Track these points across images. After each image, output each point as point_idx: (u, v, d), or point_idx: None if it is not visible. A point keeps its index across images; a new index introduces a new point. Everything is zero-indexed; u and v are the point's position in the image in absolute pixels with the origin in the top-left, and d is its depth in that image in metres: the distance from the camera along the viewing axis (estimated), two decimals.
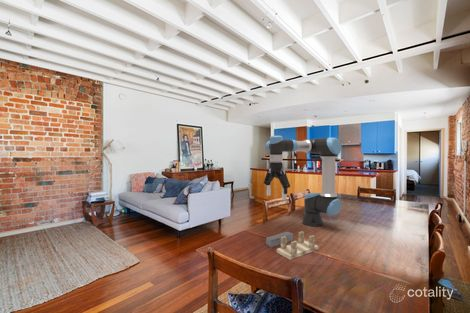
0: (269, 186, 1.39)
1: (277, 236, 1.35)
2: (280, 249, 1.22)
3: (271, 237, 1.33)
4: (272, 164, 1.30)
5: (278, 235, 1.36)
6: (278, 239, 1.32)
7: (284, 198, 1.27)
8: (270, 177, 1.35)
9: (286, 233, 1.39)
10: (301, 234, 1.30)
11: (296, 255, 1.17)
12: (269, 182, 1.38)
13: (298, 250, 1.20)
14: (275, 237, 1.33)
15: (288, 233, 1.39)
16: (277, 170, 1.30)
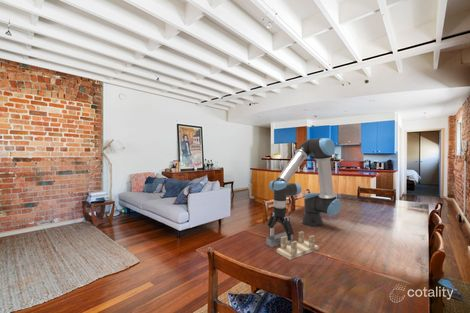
0: (273, 229, 1.41)
1: (277, 236, 1.34)
2: (280, 249, 1.22)
3: (271, 237, 1.33)
4: (276, 210, 1.33)
5: (278, 235, 1.36)
6: (278, 239, 1.32)
7: (288, 244, 1.30)
8: (274, 221, 1.38)
9: None
10: (301, 234, 1.30)
11: (296, 255, 1.17)
12: (273, 225, 1.41)
13: (298, 250, 1.20)
14: (275, 237, 1.33)
15: None
16: (281, 216, 1.33)
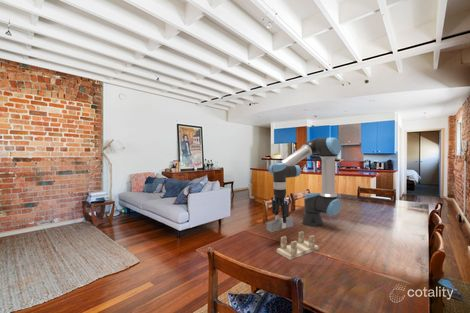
0: (278, 216, 1.38)
1: (277, 221, 1.34)
2: (280, 249, 1.22)
3: (271, 222, 1.33)
4: (276, 191, 1.33)
5: (278, 220, 1.36)
6: (278, 223, 1.32)
7: (283, 227, 1.33)
8: (276, 205, 1.37)
9: (286, 218, 1.39)
10: (301, 234, 1.30)
11: (296, 255, 1.17)
12: (277, 211, 1.38)
13: (298, 250, 1.20)
14: (275, 222, 1.33)
15: (288, 218, 1.39)
16: (281, 197, 1.33)
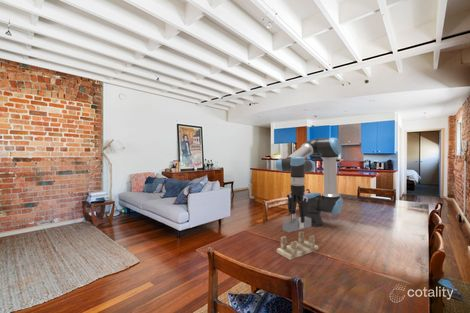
0: (295, 215, 1.26)
1: (294, 220, 1.22)
2: (280, 249, 1.22)
3: (288, 221, 1.21)
4: (294, 188, 1.21)
5: (295, 219, 1.24)
6: (296, 223, 1.20)
7: (301, 227, 1.21)
8: (293, 202, 1.25)
9: None
10: (301, 234, 1.30)
11: (296, 255, 1.17)
12: (294, 209, 1.26)
13: (298, 250, 1.20)
14: (292, 221, 1.21)
15: (306, 218, 1.27)
16: (299, 194, 1.21)
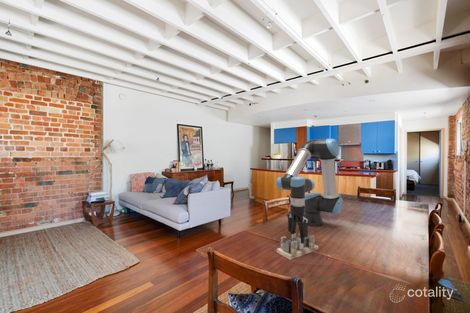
0: (294, 235, 1.26)
1: (294, 240, 1.22)
2: (280, 249, 1.22)
3: (288, 241, 1.21)
4: (294, 208, 1.21)
5: (295, 239, 1.24)
6: None
7: (301, 247, 1.21)
8: (293, 223, 1.25)
9: None
10: None
11: (296, 255, 1.17)
12: (294, 229, 1.26)
13: (298, 250, 1.20)
14: None
15: (306, 237, 1.27)
16: (299, 215, 1.21)
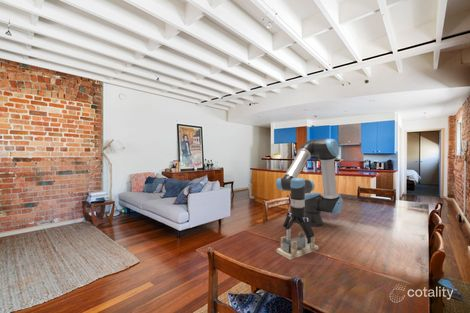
0: (289, 230, 1.30)
1: (294, 240, 1.22)
2: (280, 249, 1.22)
3: (288, 241, 1.21)
4: (294, 210, 1.21)
5: (295, 239, 1.24)
6: None
7: (307, 247, 1.18)
8: (291, 222, 1.26)
9: (304, 237, 1.27)
10: (301, 234, 1.30)
11: (296, 255, 1.17)
12: (289, 226, 1.29)
13: (298, 250, 1.20)
14: None
15: None
16: (299, 216, 1.21)
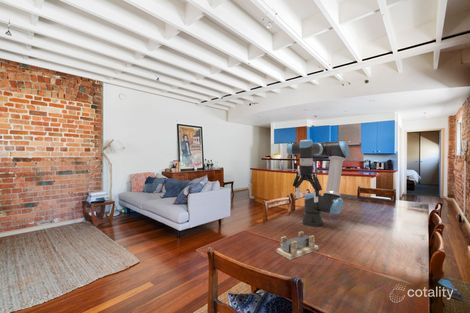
0: (298, 188, 1.42)
1: (294, 240, 1.22)
2: (280, 249, 1.22)
3: (288, 241, 1.21)
4: (303, 167, 1.33)
5: (295, 239, 1.24)
6: None
7: (316, 200, 1.31)
8: (300, 180, 1.39)
9: (304, 237, 1.27)
10: (301, 234, 1.30)
11: (296, 255, 1.17)
12: (298, 185, 1.42)
13: (298, 250, 1.20)
14: None
15: (306, 237, 1.27)
16: (308, 173, 1.34)
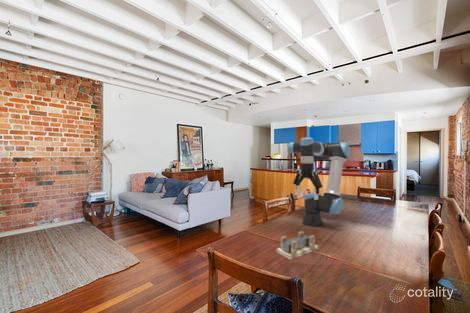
0: (299, 186, 1.43)
1: (294, 240, 1.22)
2: (280, 249, 1.22)
3: (288, 241, 1.21)
4: (304, 165, 1.35)
5: (295, 239, 1.24)
6: None
7: (316, 198, 1.32)
8: (300, 178, 1.40)
9: (304, 237, 1.27)
10: (301, 234, 1.30)
11: (296, 255, 1.17)
12: (299, 182, 1.43)
13: (298, 250, 1.20)
14: None
15: (306, 237, 1.27)
16: (308, 171, 1.35)
